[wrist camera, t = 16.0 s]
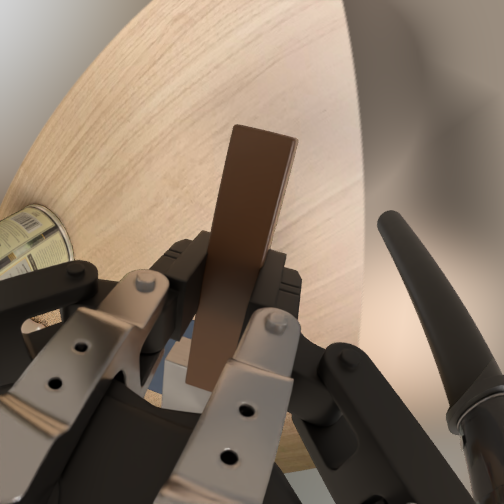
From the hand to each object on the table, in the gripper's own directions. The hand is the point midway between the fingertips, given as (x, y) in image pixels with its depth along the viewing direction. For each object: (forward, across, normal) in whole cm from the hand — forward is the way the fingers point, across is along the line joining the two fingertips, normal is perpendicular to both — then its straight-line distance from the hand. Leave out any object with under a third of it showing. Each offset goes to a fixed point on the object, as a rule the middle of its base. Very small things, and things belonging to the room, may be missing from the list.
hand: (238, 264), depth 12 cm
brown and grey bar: (+1, 0, +4) cm, 4 cm away
